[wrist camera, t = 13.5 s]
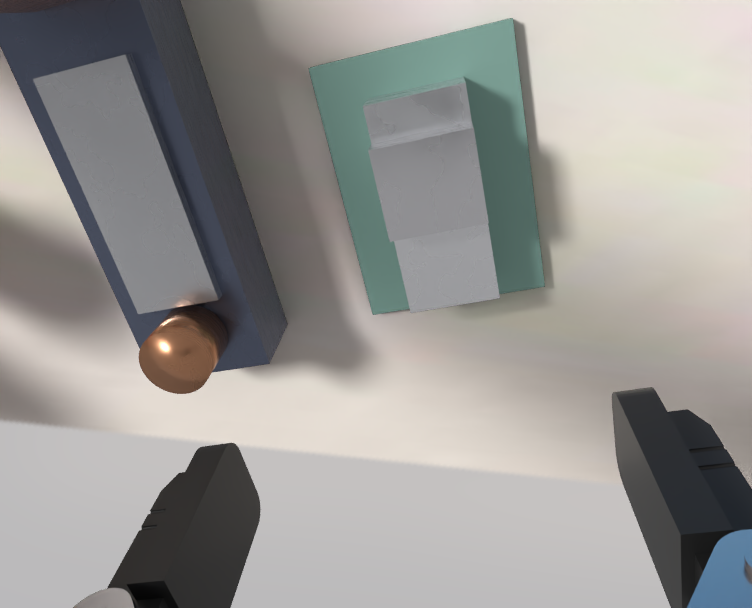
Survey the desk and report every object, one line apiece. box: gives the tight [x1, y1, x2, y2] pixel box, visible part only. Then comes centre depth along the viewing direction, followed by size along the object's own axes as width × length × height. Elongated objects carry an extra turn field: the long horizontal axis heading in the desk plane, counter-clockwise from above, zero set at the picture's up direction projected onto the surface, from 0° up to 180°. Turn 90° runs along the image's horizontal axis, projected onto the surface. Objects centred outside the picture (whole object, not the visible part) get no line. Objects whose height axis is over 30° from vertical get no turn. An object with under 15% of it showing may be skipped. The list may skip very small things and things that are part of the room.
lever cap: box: [363, 77, 500, 313], centre depth 30 cm, size 11×5×4 cm, turn 13°
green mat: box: [309, 18, 545, 315], centre depth 32 cm, size 14×10×1 cm
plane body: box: [0, 0, 287, 394], centre depth 29 cm, size 22×7×10 cm, turn 13°
